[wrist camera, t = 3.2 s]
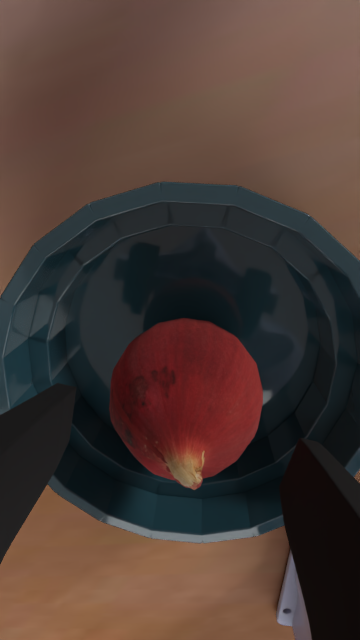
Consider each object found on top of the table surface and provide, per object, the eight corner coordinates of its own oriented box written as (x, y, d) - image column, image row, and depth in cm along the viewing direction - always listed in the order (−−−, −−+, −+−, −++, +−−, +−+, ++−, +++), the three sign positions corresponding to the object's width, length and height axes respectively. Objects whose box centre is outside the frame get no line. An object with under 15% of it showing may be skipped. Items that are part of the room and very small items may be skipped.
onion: (128, 396, 18) (73, 541, 10) (133, 290, 16) (69, 372, 8) (239, 409, 18) (266, 567, 10) (258, 303, 16) (309, 400, 8)
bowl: (314, 480, 19) (345, 558, 15) (54, 457, 20) (13, 525, 16) (380, 197, 14) (455, 196, 10) (28, 179, 15) (-42, 171, 11)
